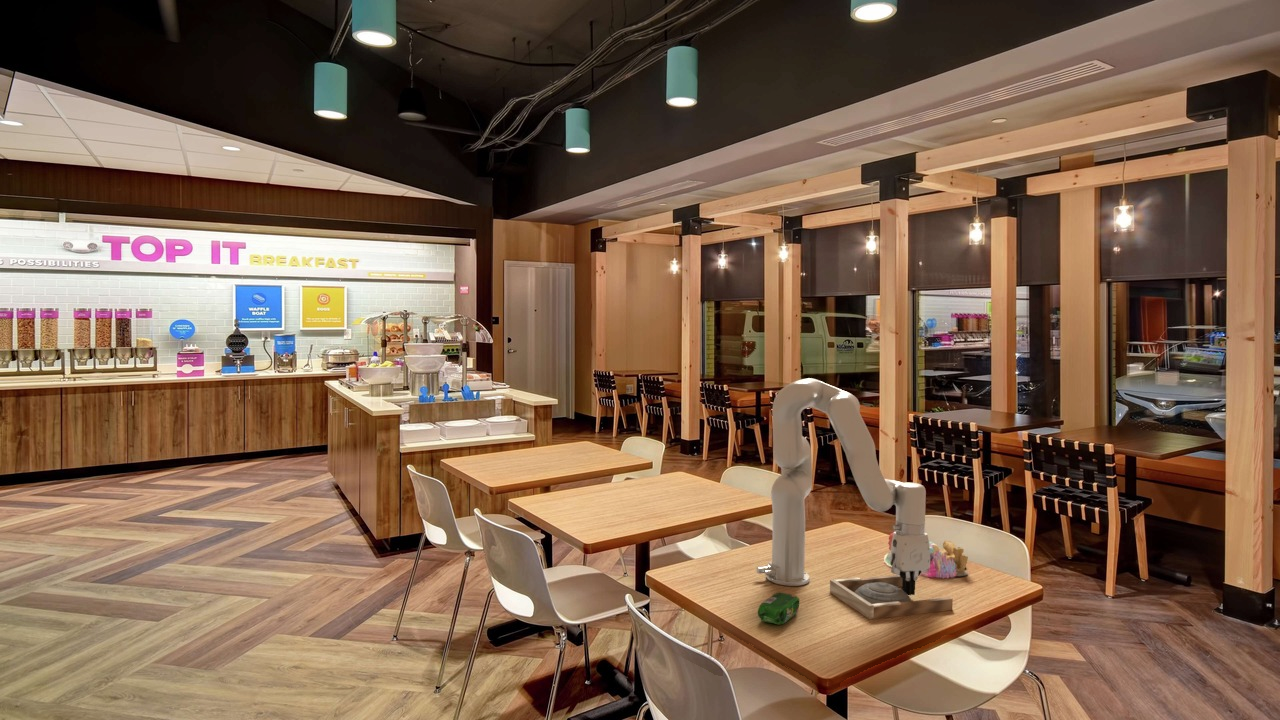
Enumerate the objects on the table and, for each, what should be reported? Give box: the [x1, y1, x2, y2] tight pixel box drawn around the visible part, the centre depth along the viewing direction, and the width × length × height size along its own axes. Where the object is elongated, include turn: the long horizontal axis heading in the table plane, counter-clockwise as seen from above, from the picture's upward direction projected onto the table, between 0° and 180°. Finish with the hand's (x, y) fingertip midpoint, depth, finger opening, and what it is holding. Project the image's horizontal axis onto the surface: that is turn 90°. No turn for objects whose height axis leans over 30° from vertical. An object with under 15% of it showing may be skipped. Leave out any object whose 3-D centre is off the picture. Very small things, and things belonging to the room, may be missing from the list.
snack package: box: [757, 592, 800, 625], centre depth 180 cm, size 7×16×5 cm, turn 145°
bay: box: [829, 574, 954, 620], centre depth 192 cm, size 25×19×4 cm
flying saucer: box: [853, 582, 912, 604], centre depth 191 cm, size 15×15×6 cm
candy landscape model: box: [882, 532, 969, 580], centre depth 221 cm, size 25×24×9 cm
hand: (908, 593), depth 194 cm, fingers closed
